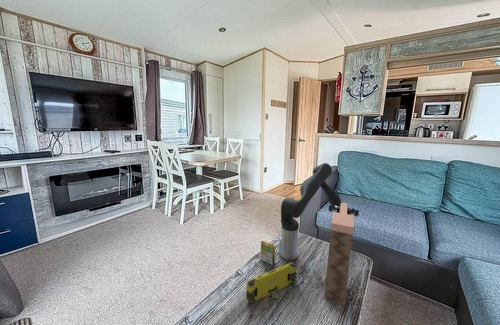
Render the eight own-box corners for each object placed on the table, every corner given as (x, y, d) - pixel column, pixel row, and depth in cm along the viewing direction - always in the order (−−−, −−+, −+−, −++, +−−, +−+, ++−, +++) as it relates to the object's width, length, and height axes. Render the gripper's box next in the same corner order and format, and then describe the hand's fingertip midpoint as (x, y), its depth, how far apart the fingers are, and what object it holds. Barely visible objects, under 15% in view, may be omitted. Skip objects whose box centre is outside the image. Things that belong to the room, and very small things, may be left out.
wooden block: (324, 297, 90) (330, 228, 85) (327, 279, 101) (333, 217, 95) (344, 304, 87) (352, 233, 81) (345, 285, 98) (352, 220, 92)
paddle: (330, 230, 84) (331, 222, 83) (335, 207, 107) (335, 201, 106) (352, 234, 80) (353, 227, 80) (352, 210, 103) (353, 204, 103)
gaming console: (290, 278, 101) (292, 260, 100) (297, 284, 98) (298, 265, 96) (244, 300, 89) (244, 279, 87) (249, 307, 85) (249, 286, 83)
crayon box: (274, 261, 113) (275, 242, 111) (272, 265, 111) (273, 244, 109) (262, 257, 117) (263, 238, 115) (260, 260, 115) (260, 240, 112)
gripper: (330, 204, 123) (329, 198, 109) (357, 209, 117) (360, 203, 103) (328, 217, 121) (327, 213, 107) (356, 222, 115) (359, 219, 101)
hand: (343, 208), depth 105 cm, fingers open, 8 cm apart
